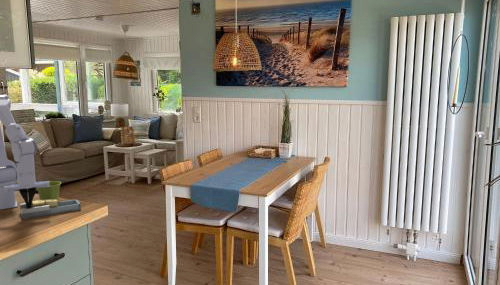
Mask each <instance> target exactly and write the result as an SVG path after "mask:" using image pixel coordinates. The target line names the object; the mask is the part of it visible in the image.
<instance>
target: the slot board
mask: <svg viewBox="0 0 500 285" xmlns="http://www.w3.org/2000/svg"><path fill="white" fill-rule="evenodd" d="M44 201H45V200H44ZM19 208H20V215H21V216H20V217H21V220H26V219H27V220H28V219H33V218H39V217H40V218H41V217H46V216H50V215H51V214H50V206H49V205H45V206H38V207H32V206H31V208H27V206H26V203H25V202H24V203H23V202H22V203H20V204H19Z"/></svg>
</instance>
